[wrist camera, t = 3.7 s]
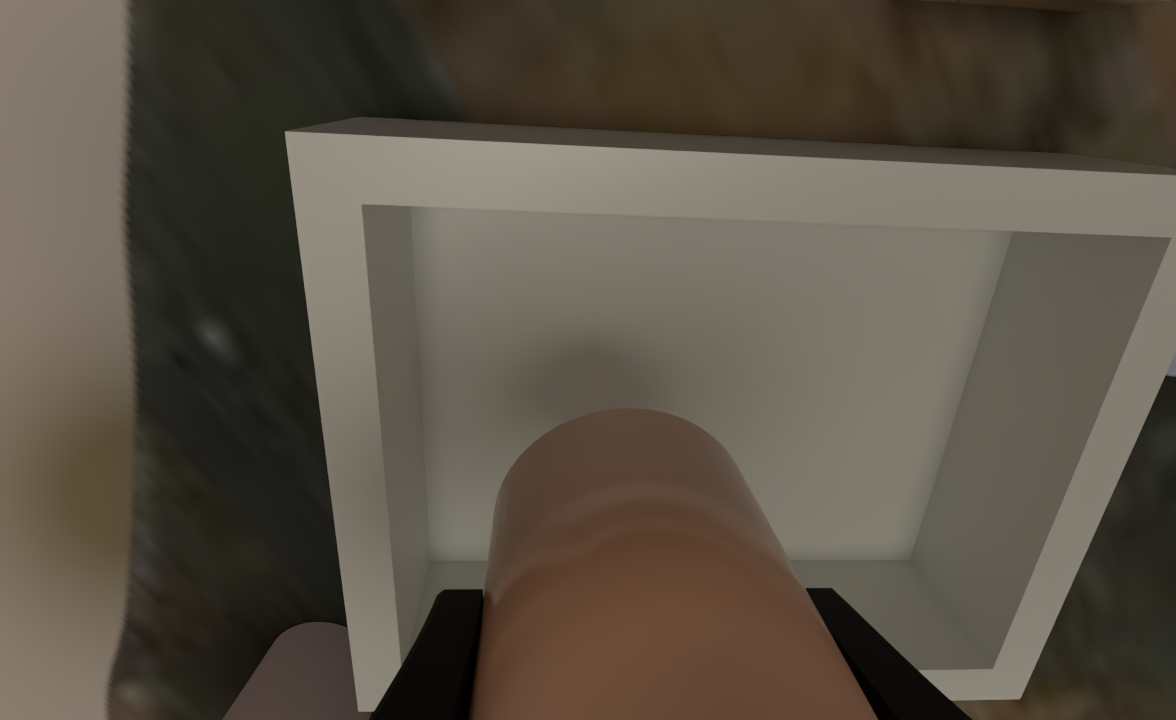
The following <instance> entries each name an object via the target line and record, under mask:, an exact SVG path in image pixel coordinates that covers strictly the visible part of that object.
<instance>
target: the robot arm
mask: <svg viewBox="0 0 1176 720" xmlns="http://www.w3.org/2000/svg"><path fill="white" fill-rule="evenodd" d="M1166 375H1168V376H1176V353H1175V355H1174V358H1173V360H1172V362H1171V364H1170V366H1169V369H1168V371H1167V373H1166ZM805 589H806V590H807V592H808V594H809V596H810V598H811V599H812V601H813V603H814V605H815V607H816V608H817V610H818V612H819V614H820V616H821V617H822V619H823V621H824V623H825V625H826V626H827V628H828V630H829V632H830V634H831V635H832V637H833V639H834V641H835V643H836V644H837V646H838V648H839V650H840V652H841V653H842V655H843V657H844V659H845V661H846V662H847V664H848V666H849V668H850V670H851V671H852V673H853V675H854V677H855V679H856V680H857V682H858V684H859V686H860V688H861V689H862V691H863V693H864V695H865V697H866V698H867V700H868V702H869V704H870V706H871V707H872V709H873V711H874V713H875V715H876V716H877V718H878V720H972V719H971V718H970V717H969V716H967V715H966V714H965V713H964V712H963V711H962V710H961V709H960V708H958V707H957V706H956V705H955V704H954V703H953V702H952V701H951V700H950V699H948V698H947V697H946V696H945V695H944V694H943V693H942V692H941V691H940V690H939V689H937V688H936V687H935V686H934V685H933V684H932V683H931V682H930V681H929V680H928V679H927V678H926V677H925V676H923V675H922V674H921V673H920V672H919V671H918V670H917V669H916V668H915V667H914V666H913V665H912V664H911V663H910V662H909V661H908V660H907V659H905V658H904V657H903V656H902V655H901V654H900V653H899V652H898V651H897V650H896V649H895V648H894V647H893V646H892V645H891V644H890V643H889V642H888V641H887V640H886V639H885V638H884V637H883V636H882V635H880V634H879V633H878V632H877V631H876V630H875V629H874V628H873V627H872V626H871V625H870V624H869V623H868V622H867V621H866V620H865V619H864V618H863V617H862V616H861V615H860V614H859V613H858V612H857V611H856V610H855V609H854V608H853V607H852V606H851V605H849V604H848V603H847V602H846V601H845V600H844V599H843V598H842V597H841V596H840V595H839V594H838V593H837V592H836V591H835V590H833V589H832V588H805ZM482 602H483V589H444V590H443V591H441V592H440V593H439V594H438V595H437V596H436V599H435V601H434V603H433V606H432V608H431V610H430V612H429V615H428V617H427V619H426V621H425V623H424V625H423V627H422V629H421V631H420V633H419V635H418V637H417V639H416V641H415V642H414V644H413V646H412V648H411V650H410V651H409V653H408V655H407V657H406V659H405V661H404V662H403V664H402V666H401V668H400V669H399V671H398V673H397V674H396V676H395V678H394V679H393V681H392V683H391V684H390V686H389V688H388V689H387V691H386V693H385V694H384V696H383V698H382V699H381V701H380V703H379V704H378V706H377V708H376V709H375V711H374V712H373V714H372V715H371V717H370V719H369V720H468V713H469V705H470V697H471V689H472V681H473V673H474V665H475V657H476V650H477V642H478V634H479V626H480V618H481V610H482Z"/></svg>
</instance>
